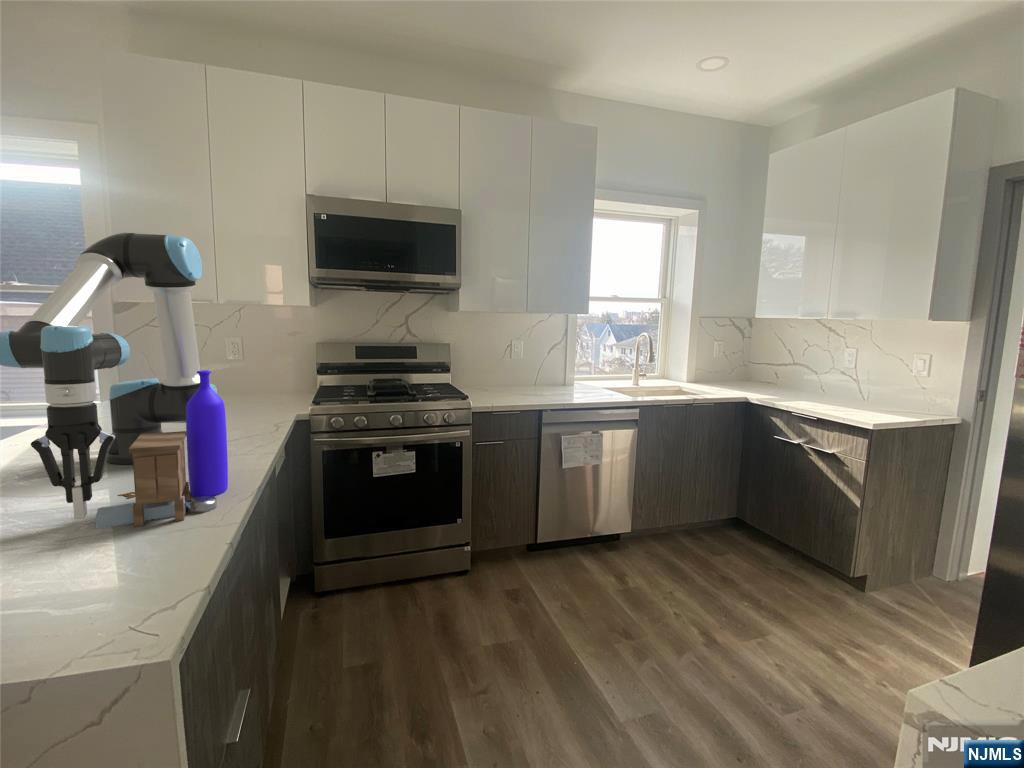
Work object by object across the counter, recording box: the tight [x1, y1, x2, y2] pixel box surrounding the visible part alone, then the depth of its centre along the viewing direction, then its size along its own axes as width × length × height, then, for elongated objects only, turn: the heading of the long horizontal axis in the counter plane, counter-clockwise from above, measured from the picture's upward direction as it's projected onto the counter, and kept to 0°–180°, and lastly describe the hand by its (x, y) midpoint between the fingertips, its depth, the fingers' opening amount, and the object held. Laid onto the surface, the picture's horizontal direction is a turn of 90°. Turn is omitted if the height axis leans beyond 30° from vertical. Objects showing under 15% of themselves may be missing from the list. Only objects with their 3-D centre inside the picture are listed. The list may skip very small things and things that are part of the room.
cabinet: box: [129, 430, 190, 528], centre depth 107 cm, size 14×8×16 cm, turn 28°
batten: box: [95, 496, 187, 530], centre depth 106 cm, size 5×15×3 cm, turn 125°
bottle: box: [185, 369, 229, 498], centre depth 120 cm, size 8×8×30 cm
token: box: [185, 496, 218, 515], centre depth 111 cm, size 6×6×2 cm
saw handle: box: [117, 491, 135, 500], centre depth 126 cm, size 24×5×1 cm, turn 145°
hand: (80, 516), depth 102 cm, fingers closed
